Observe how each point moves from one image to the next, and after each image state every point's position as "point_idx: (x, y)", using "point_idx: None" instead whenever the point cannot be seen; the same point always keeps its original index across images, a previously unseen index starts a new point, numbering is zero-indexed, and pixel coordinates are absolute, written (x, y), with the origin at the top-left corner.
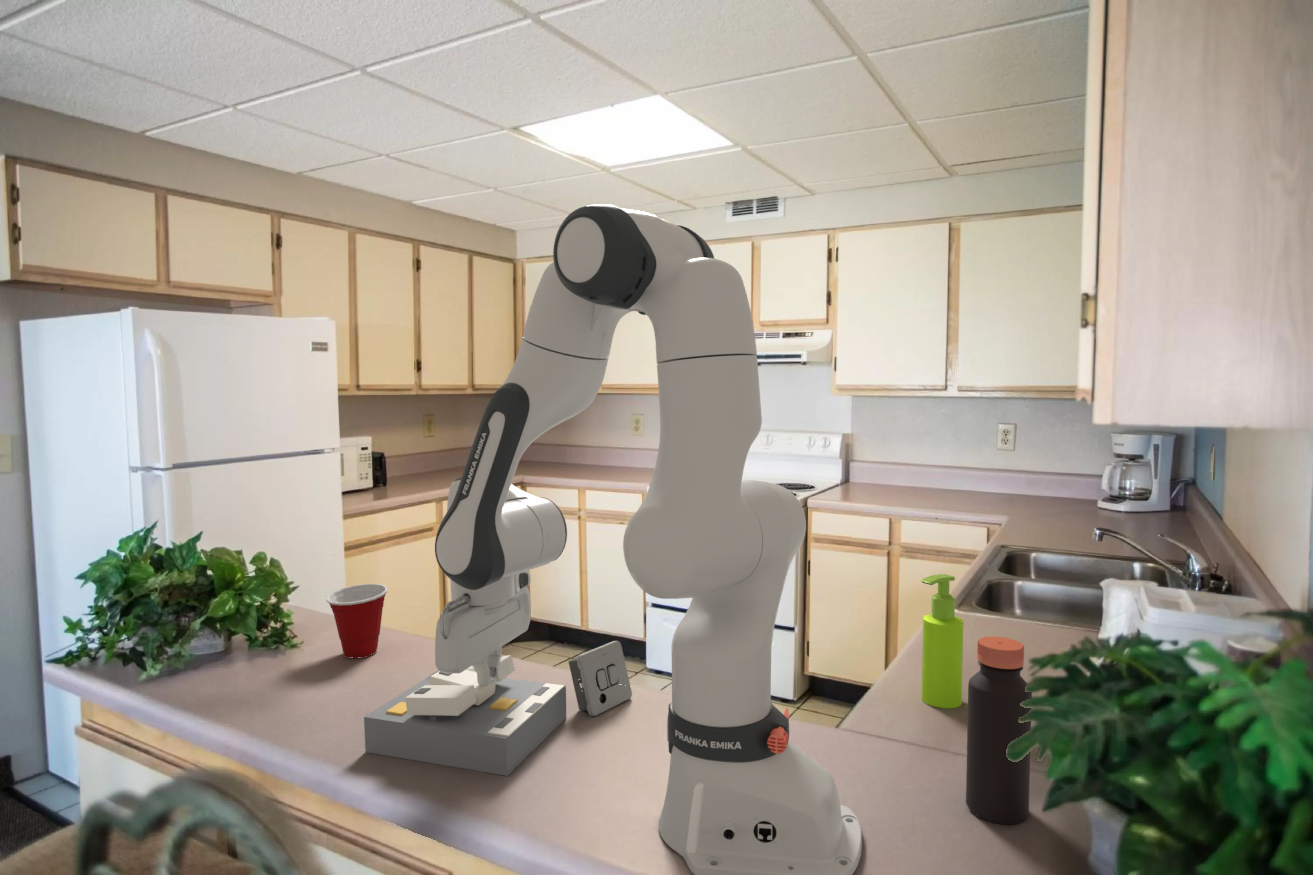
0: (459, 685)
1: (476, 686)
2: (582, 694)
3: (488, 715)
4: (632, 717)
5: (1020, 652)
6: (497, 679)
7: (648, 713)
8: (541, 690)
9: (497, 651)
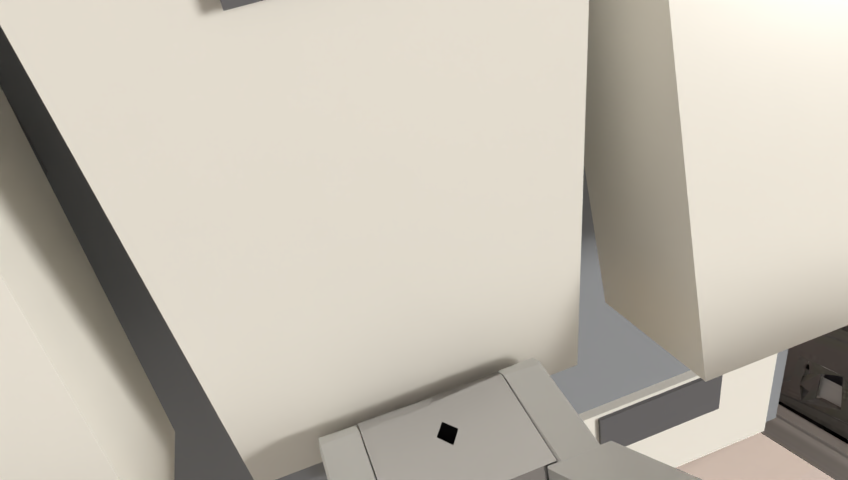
0: (76, 425)
1: (282, 431)
2: (791, 362)
3: (195, 454)
4: (719, 459)
5: None
6: (613, 289)
7: (758, 469)
8: (665, 412)
9: None
